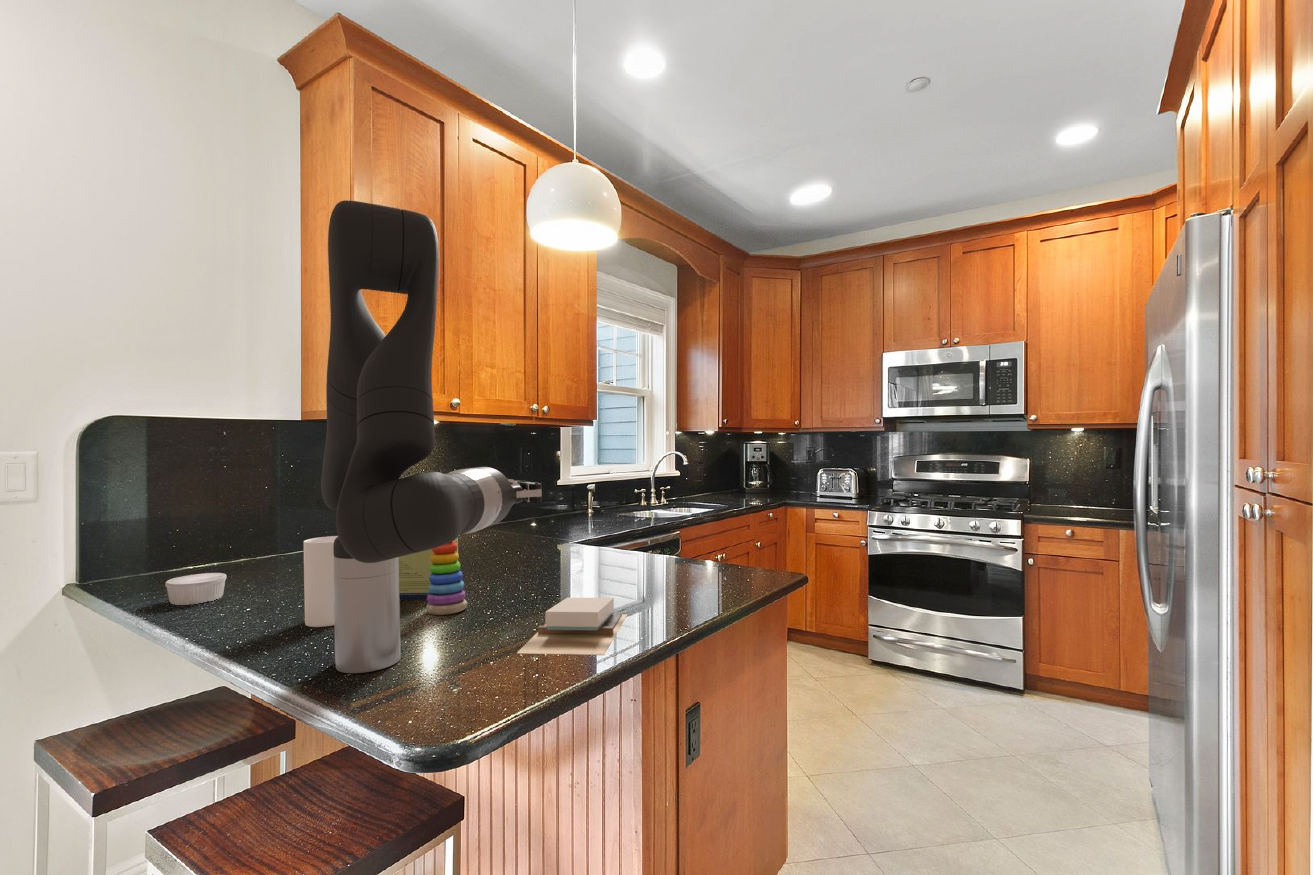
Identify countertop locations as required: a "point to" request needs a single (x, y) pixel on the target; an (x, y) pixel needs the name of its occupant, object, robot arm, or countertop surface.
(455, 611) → the stacking toy
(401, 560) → the protein box
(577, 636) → the board
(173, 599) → the ramekin
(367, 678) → the countertop surface
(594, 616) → the tile
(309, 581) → the cup
